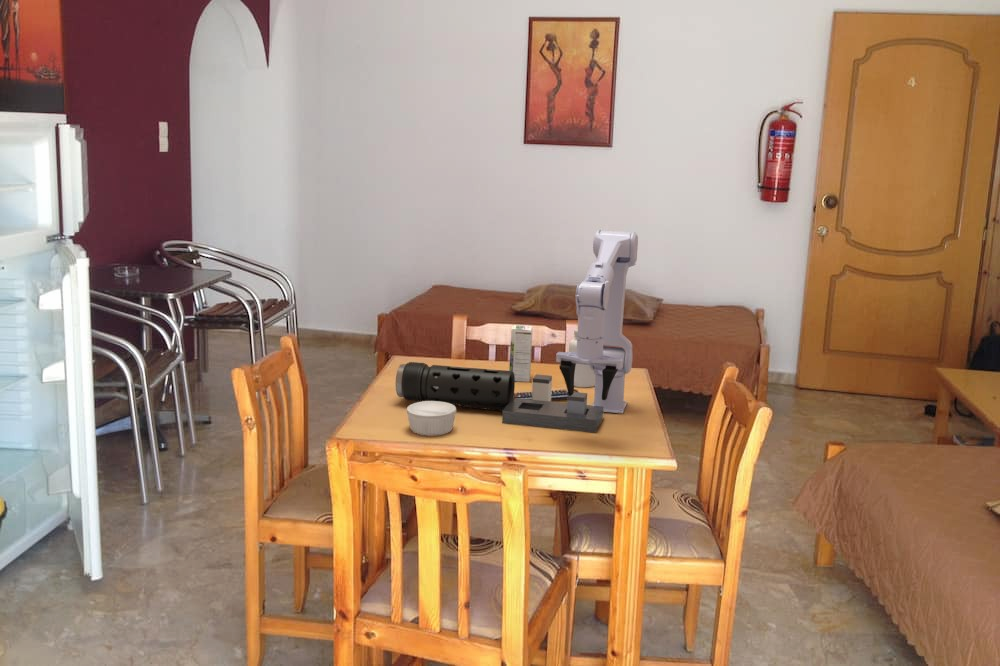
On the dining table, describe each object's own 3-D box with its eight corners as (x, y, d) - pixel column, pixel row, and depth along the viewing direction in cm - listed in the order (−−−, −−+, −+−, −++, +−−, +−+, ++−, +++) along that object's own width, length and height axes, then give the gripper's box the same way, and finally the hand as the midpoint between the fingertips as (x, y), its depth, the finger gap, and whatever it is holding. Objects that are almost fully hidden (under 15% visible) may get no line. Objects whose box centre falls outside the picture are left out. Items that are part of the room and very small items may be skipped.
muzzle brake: (506, 417, 225) (508, 375, 223) (394, 407, 231) (394, 366, 229) (514, 406, 235) (515, 365, 232) (405, 396, 240) (406, 357, 238)
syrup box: (509, 376, 262) (511, 324, 258) (530, 376, 261) (532, 325, 258) (508, 381, 256) (510, 329, 253) (530, 382, 256) (532, 329, 253)
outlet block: (513, 409, 231) (513, 397, 230) (603, 418, 226) (603, 406, 225) (502, 422, 221) (502, 410, 220) (595, 432, 215) (596, 420, 215)
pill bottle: (564, 386, 253) (566, 331, 250) (571, 378, 260) (573, 325, 257) (593, 389, 251) (596, 334, 247) (599, 381, 258) (602, 328, 255)
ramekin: (411, 439, 208) (411, 416, 207) (402, 424, 218) (402, 402, 217) (461, 436, 211) (461, 413, 210) (449, 421, 221) (450, 399, 220)
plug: (535, 401, 239) (536, 374, 237) (550, 402, 238) (551, 375, 236) (531, 405, 235) (532, 378, 233) (547, 407, 234) (548, 379, 232)
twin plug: (569, 420, 224) (570, 391, 223) (586, 421, 223) (587, 393, 222) (566, 425, 220) (567, 396, 219) (583, 426, 220) (584, 397, 218)
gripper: (552, 336, 204) (550, 397, 207) (618, 343, 199) (615, 405, 202) (562, 330, 210) (559, 389, 213) (626, 337, 206) (623, 397, 209)
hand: (587, 396), depth 208 cm, fingers open, 7 cm apart
